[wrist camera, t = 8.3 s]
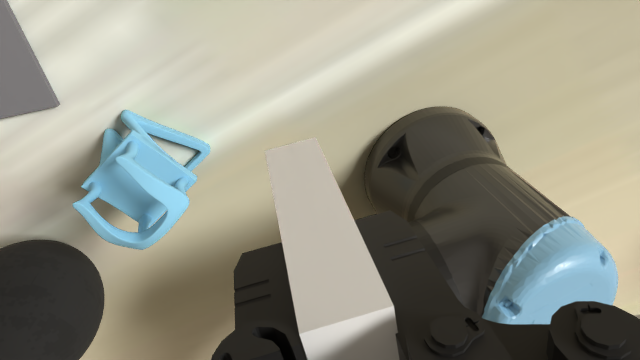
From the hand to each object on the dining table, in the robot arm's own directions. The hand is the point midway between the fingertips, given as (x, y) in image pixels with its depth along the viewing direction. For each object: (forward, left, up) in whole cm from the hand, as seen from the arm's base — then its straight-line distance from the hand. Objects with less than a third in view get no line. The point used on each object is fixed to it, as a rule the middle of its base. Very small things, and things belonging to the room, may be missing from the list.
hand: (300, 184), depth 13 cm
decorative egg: (-20, +26, -29) cm, 44 cm away
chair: (-10, +12, -29) cm, 33 cm away
